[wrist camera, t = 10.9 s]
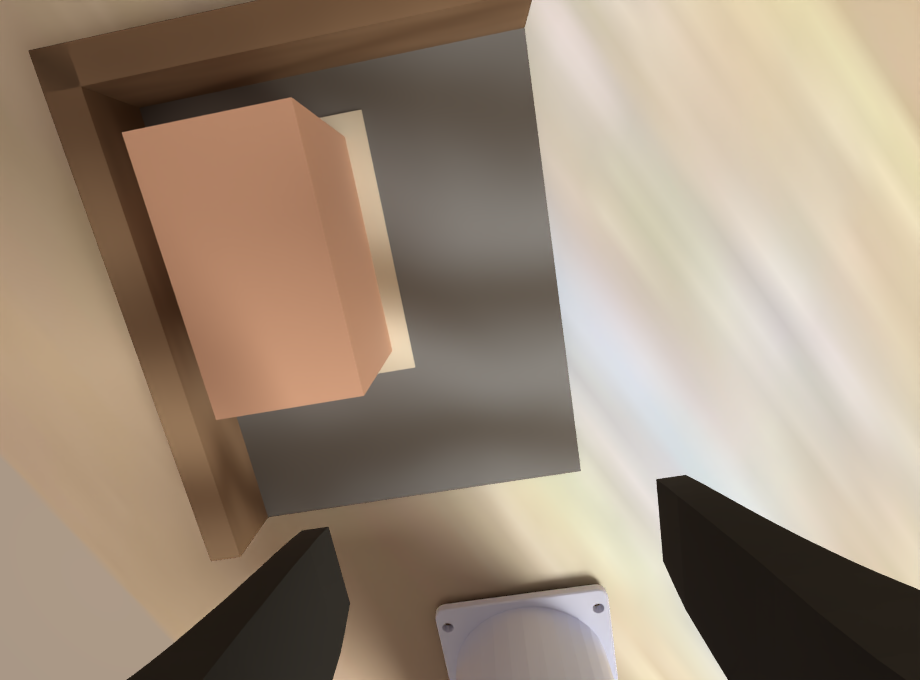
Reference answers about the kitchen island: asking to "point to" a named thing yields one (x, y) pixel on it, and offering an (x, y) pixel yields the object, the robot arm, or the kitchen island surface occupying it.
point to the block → (265, 254)
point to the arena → (388, 232)
